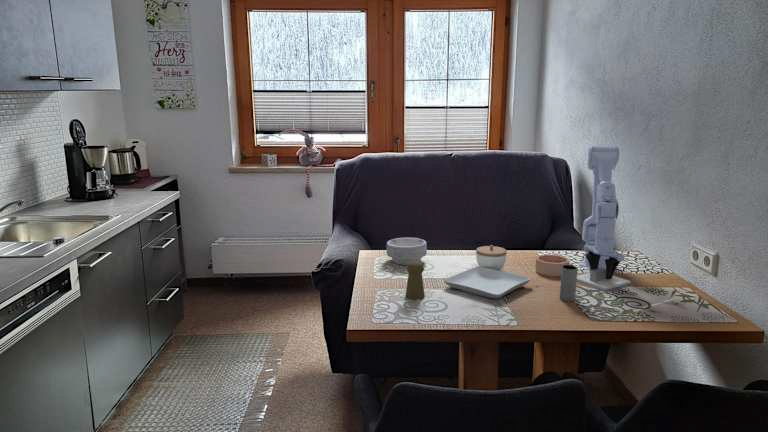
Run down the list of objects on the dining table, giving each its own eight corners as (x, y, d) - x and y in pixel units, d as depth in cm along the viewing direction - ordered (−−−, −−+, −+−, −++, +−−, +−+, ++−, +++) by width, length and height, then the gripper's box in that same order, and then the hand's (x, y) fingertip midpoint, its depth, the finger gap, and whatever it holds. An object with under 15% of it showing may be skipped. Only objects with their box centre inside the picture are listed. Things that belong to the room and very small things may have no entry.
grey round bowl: (384, 256, 213) (384, 237, 211) (422, 255, 214) (422, 236, 212) (389, 268, 198) (388, 247, 196) (430, 267, 199) (430, 246, 198)
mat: (596, 272, 193) (596, 271, 193) (637, 285, 179) (637, 283, 179) (565, 279, 185) (565, 278, 185) (605, 293, 171) (605, 292, 171)
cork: (426, 294, 171) (427, 260, 169) (421, 300, 166) (422, 266, 163) (408, 292, 173) (408, 259, 171) (402, 298, 168) (403, 264, 165)
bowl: (550, 266, 200) (551, 253, 199) (575, 274, 191) (576, 260, 189) (528, 270, 194) (529, 257, 193) (552, 279, 185) (553, 265, 184)
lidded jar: (503, 266, 200) (505, 241, 198) (507, 275, 189) (508, 249, 187) (474, 265, 201) (475, 241, 199) (476, 274, 190) (477, 249, 188)
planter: (567, 302, 164) (569, 270, 162) (556, 297, 168) (558, 266, 166) (578, 300, 166) (580, 267, 164) (567, 295, 170) (569, 264, 168)
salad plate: (441, 289, 177) (441, 279, 176) (477, 274, 192) (477, 264, 192) (498, 305, 163) (498, 294, 162) (532, 287, 178) (532, 277, 177)
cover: (597, 272, 191) (598, 261, 190) (630, 283, 180) (631, 271, 179) (572, 279, 184) (573, 266, 183) (604, 290, 173) (605, 277, 172)
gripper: (578, 234, 183) (575, 272, 186) (616, 243, 171) (612, 284, 173) (592, 231, 186) (589, 269, 189) (630, 240, 174) (626, 281, 177)
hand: (601, 276), depth 182 cm, fingers open, 5 cm apart
